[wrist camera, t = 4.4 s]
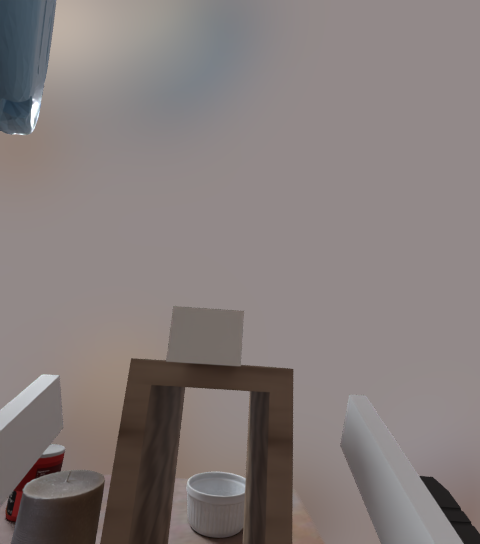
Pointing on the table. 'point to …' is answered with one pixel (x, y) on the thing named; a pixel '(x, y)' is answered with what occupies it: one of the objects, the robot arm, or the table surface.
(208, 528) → the ramekin
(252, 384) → the stand
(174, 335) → the bar
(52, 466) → the canned food
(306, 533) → the table surface
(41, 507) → the pillar candle
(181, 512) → the table surface
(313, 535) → the table surface
